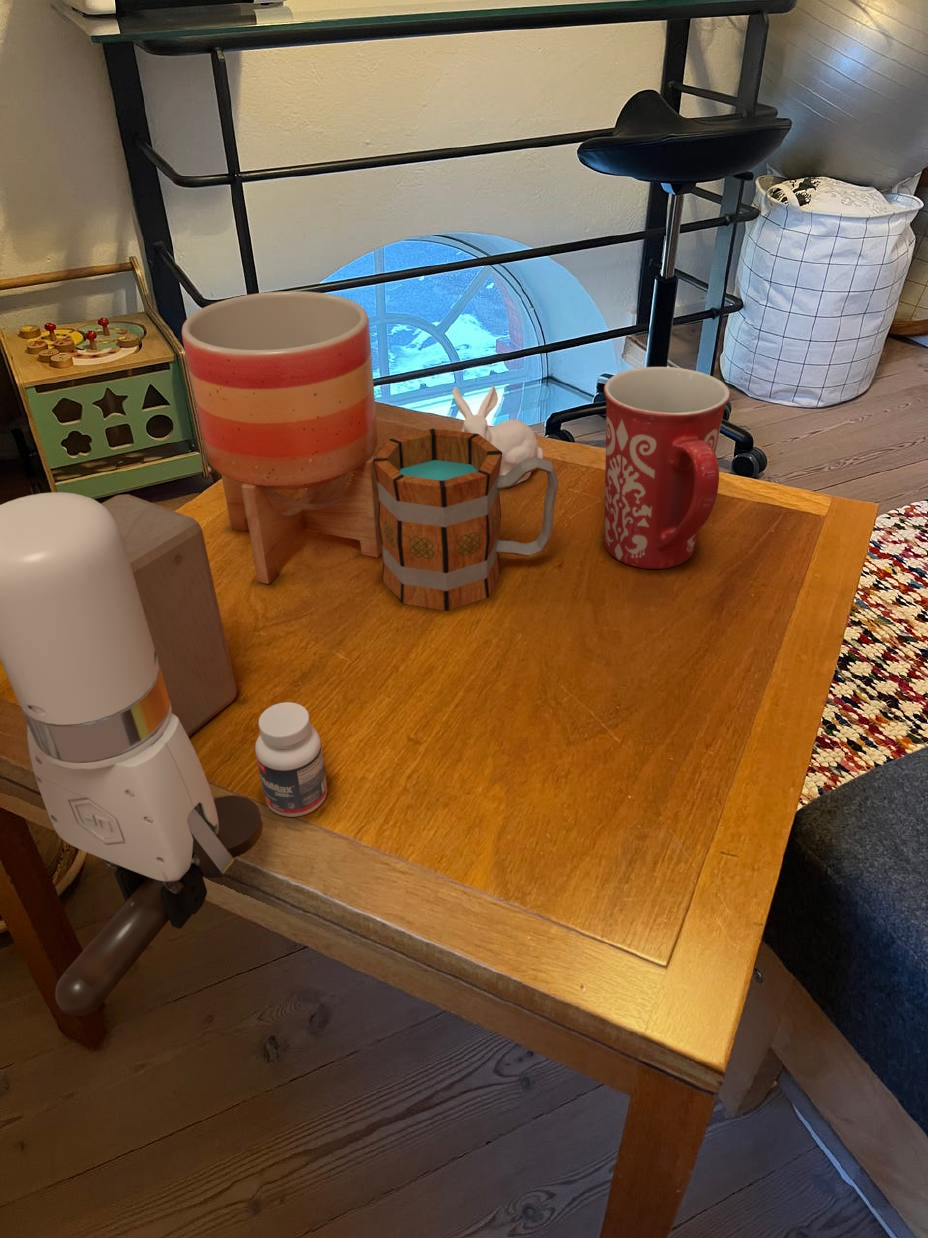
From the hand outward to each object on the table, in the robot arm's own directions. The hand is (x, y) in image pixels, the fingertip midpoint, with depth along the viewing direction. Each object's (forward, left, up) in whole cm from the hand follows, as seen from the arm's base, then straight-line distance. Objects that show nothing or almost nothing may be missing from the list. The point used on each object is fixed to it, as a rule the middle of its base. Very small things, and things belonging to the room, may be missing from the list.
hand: (168, 900), depth 63 cm
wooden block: (-14, +22, -5) cm, 27 cm away
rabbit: (+4, +74, -5) cm, 75 cm away
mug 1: (+7, +51, -5) cm, 52 cm away
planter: (-14, +53, -5) cm, 56 cm away
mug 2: (+27, +60, -5) cm, 66 cm away
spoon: (0, 0, 0) cm, 0 cm away
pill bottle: (+2, +15, -5) cm, 16 cm away
